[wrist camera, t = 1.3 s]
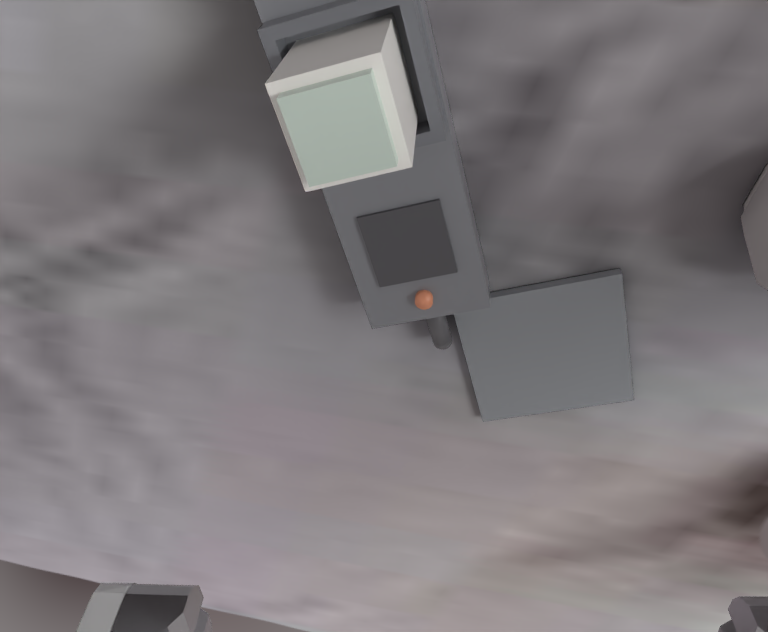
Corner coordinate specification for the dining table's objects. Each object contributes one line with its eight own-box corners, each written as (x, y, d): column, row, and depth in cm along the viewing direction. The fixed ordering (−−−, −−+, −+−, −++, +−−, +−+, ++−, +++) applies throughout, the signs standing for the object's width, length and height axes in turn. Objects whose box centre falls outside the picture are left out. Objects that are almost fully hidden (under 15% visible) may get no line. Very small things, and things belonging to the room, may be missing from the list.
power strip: (396, -127, 29) (388, -120, 25) (499, 325, 42) (504, 372, 38) (246, -77, 30) (219, -64, 27) (391, 344, 44) (386, 391, 40)
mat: (620, 268, 39) (622, 274, 38) (632, 393, 44) (634, 400, 44) (451, 299, 41) (451, 305, 41) (482, 415, 47) (482, 421, 46)
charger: (392, 12, 29) (379, 57, 23) (418, 112, 32) (411, 174, 26) (296, 40, 30) (260, 89, 24) (328, 135, 33) (302, 199, 27)
